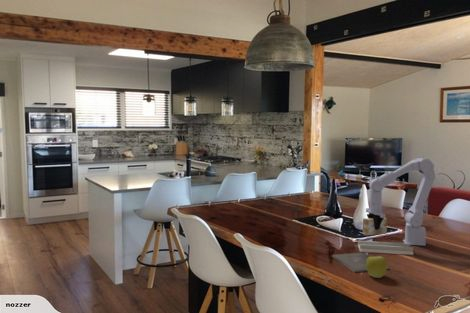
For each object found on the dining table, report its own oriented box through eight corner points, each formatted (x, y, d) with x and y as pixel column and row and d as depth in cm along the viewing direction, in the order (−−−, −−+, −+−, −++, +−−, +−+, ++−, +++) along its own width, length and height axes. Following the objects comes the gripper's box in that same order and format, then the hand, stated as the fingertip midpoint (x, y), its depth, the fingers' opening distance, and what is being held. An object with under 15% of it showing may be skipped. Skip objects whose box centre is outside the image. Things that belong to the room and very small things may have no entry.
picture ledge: (408, 248, 201) (408, 242, 201) (413, 254, 192) (413, 248, 191) (357, 245, 206) (358, 239, 206) (360, 251, 196) (360, 245, 196)
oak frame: (383, 232, 214) (383, 217, 214) (386, 233, 212) (387, 218, 211) (362, 233, 212) (363, 218, 211) (365, 235, 209) (366, 219, 208)
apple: (389, 278, 159) (382, 253, 160) (369, 281, 162) (362, 257, 163) (390, 271, 167) (383, 248, 167) (370, 275, 170) (363, 251, 170)
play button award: (354, 269, 169) (332, 254, 188) (354, 273, 169) (332, 258, 189) (389, 266, 173) (363, 252, 192) (389, 270, 173) (363, 255, 192)
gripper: (361, 200, 216) (360, 225, 217) (376, 205, 202) (376, 232, 203) (372, 199, 218) (372, 224, 219) (389, 205, 204) (388, 231, 205)
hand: (374, 228), depth 211 cm, fingers closed on oak frame, 3 cm apart
